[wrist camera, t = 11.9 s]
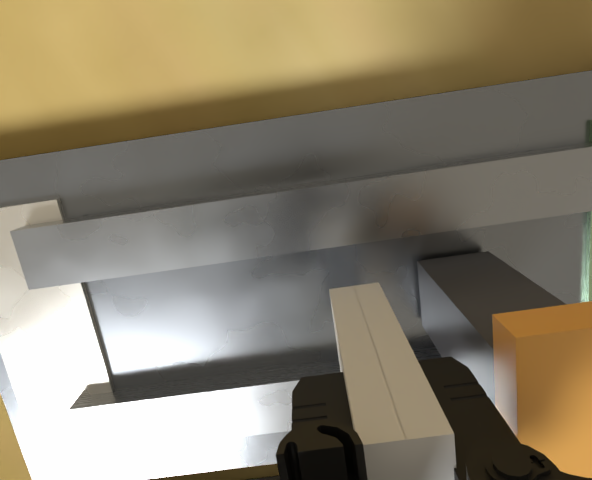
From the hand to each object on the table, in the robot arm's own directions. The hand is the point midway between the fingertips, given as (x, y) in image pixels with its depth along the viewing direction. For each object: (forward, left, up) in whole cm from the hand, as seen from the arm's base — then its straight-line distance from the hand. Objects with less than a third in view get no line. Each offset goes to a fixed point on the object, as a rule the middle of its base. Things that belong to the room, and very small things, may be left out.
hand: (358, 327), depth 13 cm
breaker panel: (0, 0, -4) cm, 4 cm away
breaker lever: (+4, 0, -2) cm, 4 cm away
